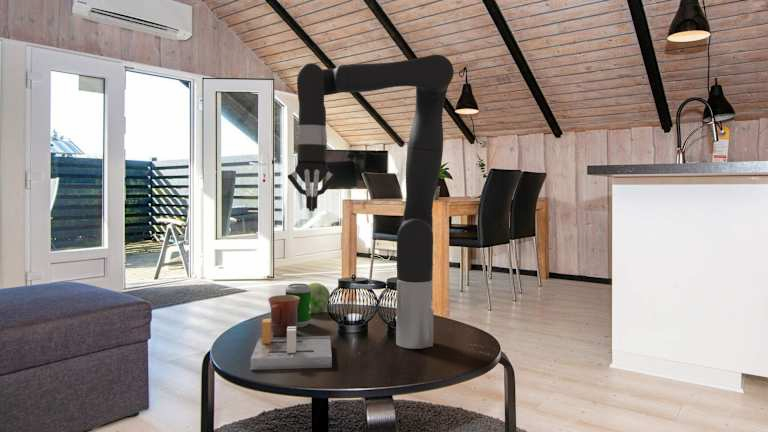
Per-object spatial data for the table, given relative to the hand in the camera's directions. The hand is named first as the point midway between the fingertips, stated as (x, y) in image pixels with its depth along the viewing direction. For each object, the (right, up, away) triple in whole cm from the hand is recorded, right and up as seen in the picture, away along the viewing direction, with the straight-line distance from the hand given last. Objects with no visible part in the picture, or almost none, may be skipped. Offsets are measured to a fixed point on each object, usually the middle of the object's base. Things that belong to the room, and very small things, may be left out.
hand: (311, 210), depth 135 cm
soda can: (-7, -34, +21) cm, 41 cm away
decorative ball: (-4, -34, +36) cm, 50 cm away
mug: (-9, -35, +8) cm, 37 cm away
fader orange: (-10, -32, -7) cm, 35 cm away
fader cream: (-3, -33, -14) cm, 36 cm away
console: (-3, -35, -10) cm, 37 cm away
